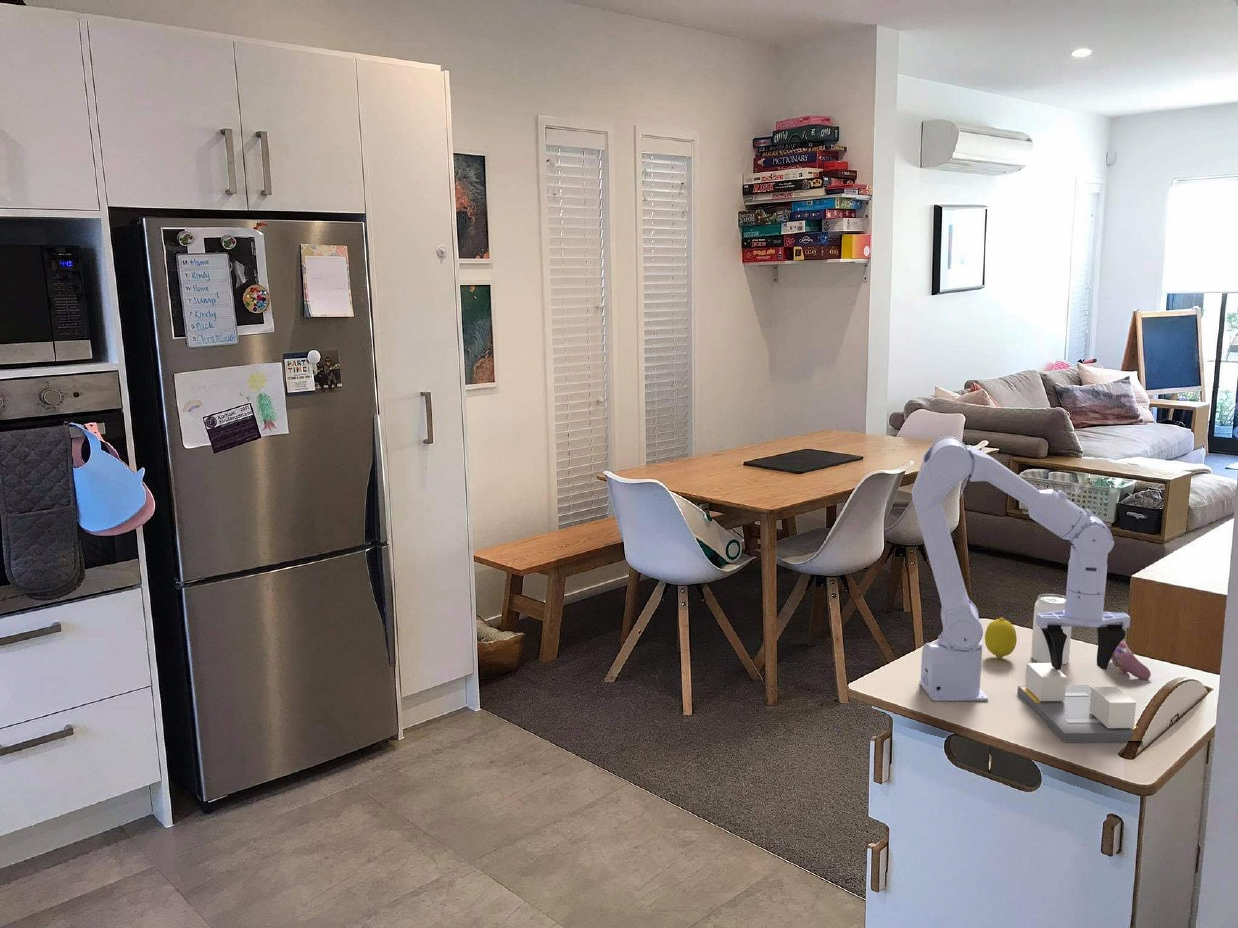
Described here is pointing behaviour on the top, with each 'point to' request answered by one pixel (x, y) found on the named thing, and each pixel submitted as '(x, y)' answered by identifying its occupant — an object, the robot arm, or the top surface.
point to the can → (1039, 644)
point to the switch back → (1045, 682)
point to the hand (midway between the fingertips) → (1078, 667)
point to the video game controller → (1129, 662)
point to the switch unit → (1074, 716)
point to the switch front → (1112, 707)
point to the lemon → (1000, 637)
